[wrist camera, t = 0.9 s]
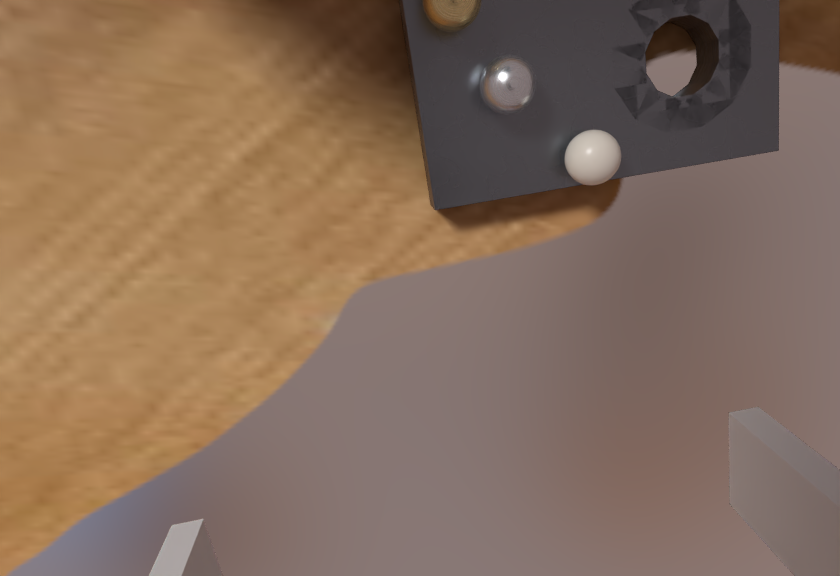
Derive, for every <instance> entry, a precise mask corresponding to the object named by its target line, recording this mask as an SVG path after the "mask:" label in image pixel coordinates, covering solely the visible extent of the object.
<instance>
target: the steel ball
mask: <svg viewBox="0 0 840 576" xmlns="http://www.w3.org/2000/svg"><path fill="white" fill-rule="evenodd" d="M536 88H537V79H536V74H535V72H534V69H533V68H532V66H531V65H530V63H529V62H527V61H526V60H525V59H523V58H522V57H520V56H517V55H502V56H499V57H497V58H495V59H493V60H492V61H491V62H490V63H489V64H488V65H487V66H486V67H485V69H484V70H483V72H482V74H481V77H480V83H479V89H480V94H481V97H482V99H483V101H484V103H485V104H486V105H487V107H488V108H490V109H491V110H492V111H494V112H496V113H499V114H504V115H509V114H515V113H517V112H520V111H521V110H523V109H524V108H526V107H527V106H528V105H529V103H530V102H531V101H532V99H533V97H534V95H535V92H536Z"/></svg>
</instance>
